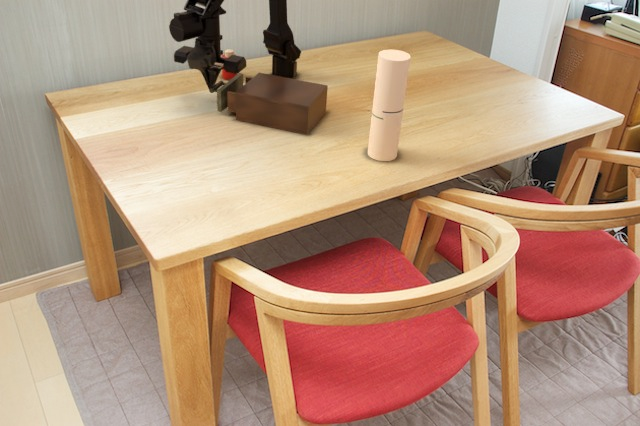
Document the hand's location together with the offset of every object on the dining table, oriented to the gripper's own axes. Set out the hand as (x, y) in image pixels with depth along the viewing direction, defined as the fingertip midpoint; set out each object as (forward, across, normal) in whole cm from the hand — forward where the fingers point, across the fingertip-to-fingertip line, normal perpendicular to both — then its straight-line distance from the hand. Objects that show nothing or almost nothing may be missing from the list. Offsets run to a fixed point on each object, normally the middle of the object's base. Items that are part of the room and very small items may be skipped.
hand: (211, 89), depth 177 cm
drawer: (+2, +12, 0) cm, 13 cm away
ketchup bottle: (+4, -3, +18) cm, 18 cm away
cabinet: (+3, +21, 0) cm, 21 cm away
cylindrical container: (+4, +51, -9) cm, 52 cm away
